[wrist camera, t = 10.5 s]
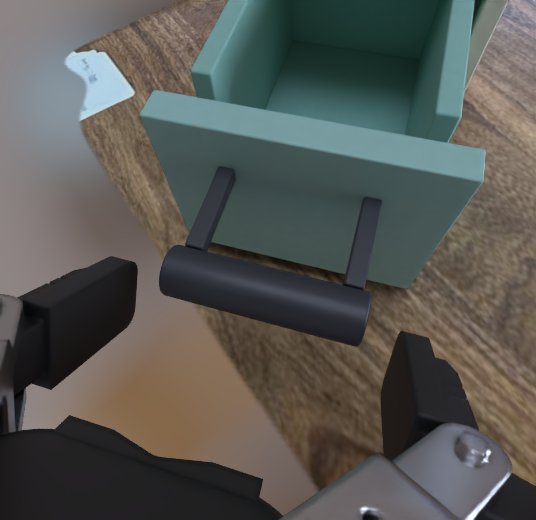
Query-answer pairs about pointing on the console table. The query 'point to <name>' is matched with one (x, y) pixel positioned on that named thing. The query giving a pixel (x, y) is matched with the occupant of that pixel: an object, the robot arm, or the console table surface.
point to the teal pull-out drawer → (316, 155)
